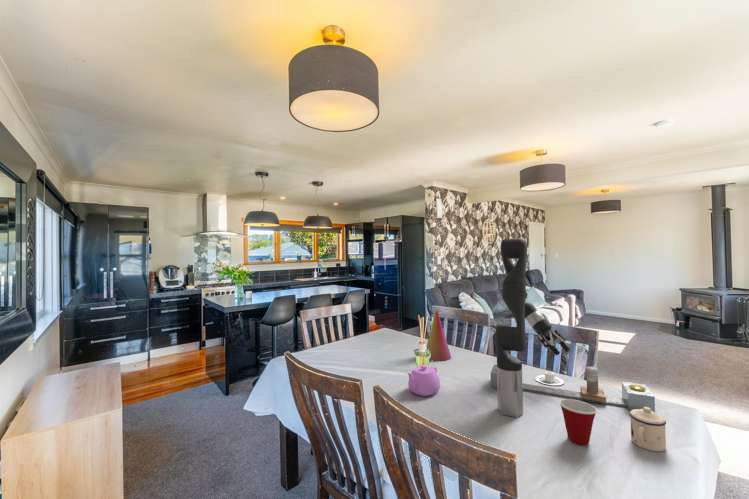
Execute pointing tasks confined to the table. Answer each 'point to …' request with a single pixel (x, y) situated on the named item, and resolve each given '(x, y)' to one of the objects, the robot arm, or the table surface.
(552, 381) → the candle holder
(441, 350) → the decorative cone
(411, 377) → the teapot
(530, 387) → the rail
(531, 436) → the table surface
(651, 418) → the teacup with lid
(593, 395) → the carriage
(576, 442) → the plastic cup
